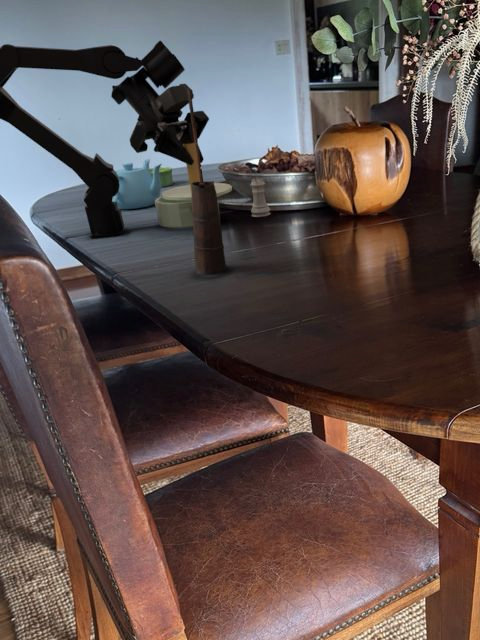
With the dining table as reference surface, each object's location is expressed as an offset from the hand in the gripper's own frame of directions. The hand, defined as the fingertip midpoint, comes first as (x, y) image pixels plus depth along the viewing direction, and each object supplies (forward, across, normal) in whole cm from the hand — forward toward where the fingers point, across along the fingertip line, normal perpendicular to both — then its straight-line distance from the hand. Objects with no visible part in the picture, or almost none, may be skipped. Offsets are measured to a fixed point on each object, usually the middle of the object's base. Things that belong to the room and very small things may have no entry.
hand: (197, 162), depth 131 cm
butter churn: (+26, -25, -6) cm, 36 cm away
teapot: (-17, +17, +37) cm, 44 cm away
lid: (+3, 0, +5) cm, 6 cm away
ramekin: (-28, +40, +47) cm, 68 cm away
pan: (+3, +4, +16) cm, 17 cm away
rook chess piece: (+13, +13, +6) cm, 19 cm away
